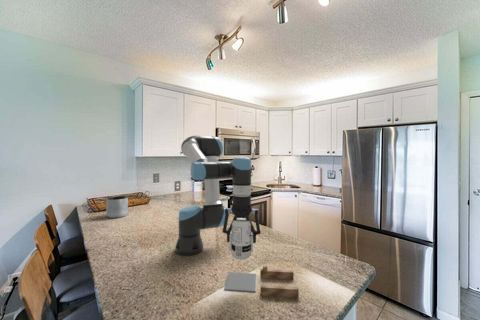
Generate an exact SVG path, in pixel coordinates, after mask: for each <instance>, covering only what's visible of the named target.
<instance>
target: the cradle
mask: <svg viewBox="0 0 480 320" xmlns="http://www.w3.org/2000/svg"><path fill="white" fill-rule="evenodd" d="M259 269H260V271H259V272H260V274H259V275H260V277H261V278H262V279H279V280H280V279H281V280H294V270H287V269H269V268H268V266H267V265H266V264H265V265H262V268H259ZM259 293H260V296H265V297H266V296H269V297H270V296H271V297H284V298H295V299H297V298H299V295H300V294H299V286H288V285H287V286H286V285H285V286H283V285H272V284H271V285H268V284H260V292H259Z"/></svg>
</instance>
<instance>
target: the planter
mask: <svg viewBox="0 0 480 320" xmlns="http://www.w3.org/2000/svg"><path fill="white" fill-rule="evenodd" d="M128 200H129V198H128V196H126V195H125V196H124V195H117V196H110V197H107V198H106V203H105V204H106V208H105V209H106V210H105V211H106V212H105V215H106V217H107V218H108V219H118V218H124V217H126V216H128V214H129V201H128Z"/></svg>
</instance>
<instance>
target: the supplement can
mask: <svg viewBox="0 0 480 320" xmlns="http://www.w3.org/2000/svg"><path fill="white" fill-rule="evenodd" d="M232 220H233V219H232ZM231 223H232V230H231V233H232V245H231V251H230V252H231V256H232V257H233V258H234V259H236V260H247V259H249V258H250V257H251V256H252V252H251V234H252V231H251V223H250V221H247V220H246V218H237V219H236V220H233V222H232V221H231Z"/></svg>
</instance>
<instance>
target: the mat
mask: <svg viewBox="0 0 480 320" xmlns="http://www.w3.org/2000/svg"><path fill="white" fill-rule="evenodd" d="M256 275H257V273H251V272H250V273H248V272H234V271H233V272H231V271H229V272H228V273H227V277H226V281H225V286H224V289H223V290H224V291H233V292H235V291H236V292H247V293H248V292H249V293H256V281H257V280H256V278H257V277H256Z"/></svg>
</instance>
